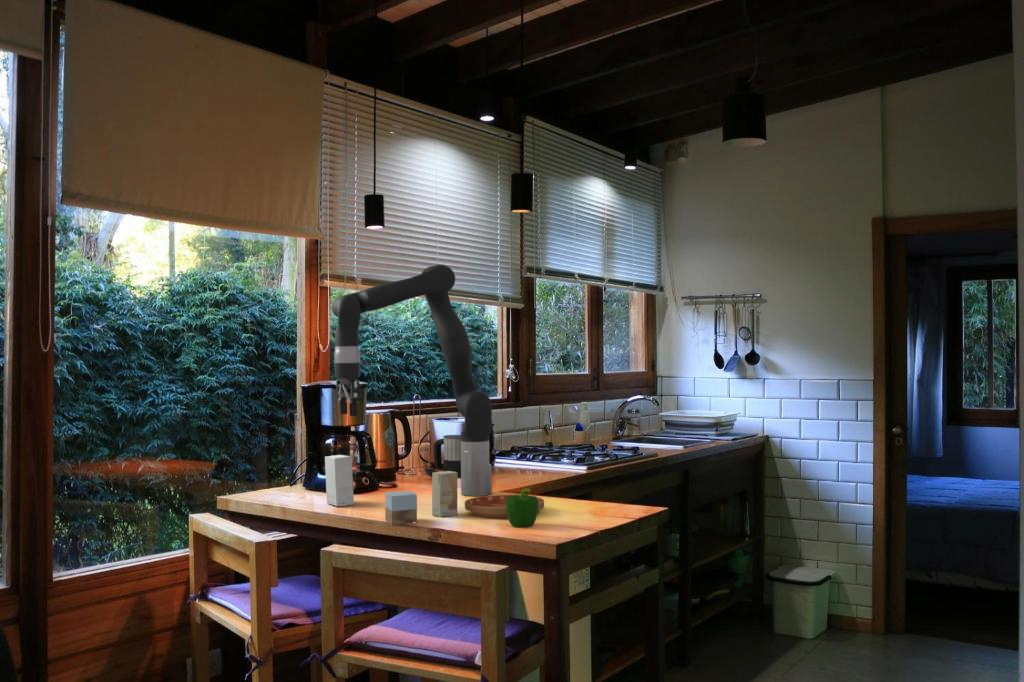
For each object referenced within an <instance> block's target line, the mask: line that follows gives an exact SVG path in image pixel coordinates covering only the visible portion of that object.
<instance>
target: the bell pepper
mask: <svg viewBox="0 0 1024 682" xmlns="http://www.w3.org/2000/svg"><path fill="white" fill-rule="evenodd" d="M531 491H532V489H529V488H524V489H522V490H521V492H520V494H512V495H513V496H511V497H508V498H507V500H506V510H507V515H508V518H507V519H508V523H509V524H510V526H512V527H517V528H522V527H524V526H527V527H533V526H534V524H535V523H536V520H537V515H538V512H539V511H538V499H537V497H538V496H534V495H530V493H531ZM527 493H529V494H527ZM519 495H520V496H519ZM537 511H538V512H537ZM521 526H522V527H521Z"/></svg>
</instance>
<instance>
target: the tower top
mask: <svg viewBox="0 0 1024 682" xmlns="http://www.w3.org/2000/svg"><path fill="white" fill-rule="evenodd" d="M384 496H385V507H387V508H388V509H389V510H391V511H400V510H412V509H417V510H418V494H417V493H415V492H414V491H411V490H401V491H399V490H398V491H397V490H396V491H386V492H385V495H384Z"/></svg>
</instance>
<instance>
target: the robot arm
mask: <svg viewBox="0 0 1024 682" xmlns="http://www.w3.org/2000/svg"><path fill="white" fill-rule="evenodd" d="M455 282H456V274H455V272H454V271H453V269H452V268H451V267H449V266H447V265H445V264H436V265H432V266H428V267H425V268H424V269H423V270H422V272H421V273H420V274H418V275H415V276H412V277H409V278H405V279H401V280H396V281H390V282H386V283H383V284H378V285H376V286H372V287H369V288H366V289H363V290H360V291H358V292H351V293H348V294H344V295H340V296H337V297H336V298H335V299H334V300H333V302H332V303H331V312H332V314H333V315H334V316H335V317H336V318H338V319H337V324H338V325H337V327H336V329H335V331H334V376H335V378H339V379H336V382H335V384H336V386H335V388H336V389H335V390H336V391H335V392H336V393H335V394H336V395H335V396H336V401H337V400H338V402H339V414H340V415H347V414H348V412H349V414H348V415H349V416H350V417H357V416H358V403H359V402H360V401H361V390H360V389H361V387H360V385H361V383H360V381H359V380H356V378H359V377H360V376H361V353H360V347H359V343H360V342H359V329H360V324H361V323H360V322H361V314H363V313H367V312H373V311H377V310H381V309H384V308H387V307H390V306H393V305H396V304H399V303H401V302H405V301H407V300H411V299H413V298H417V297H422V296H424V297H425V300H426V302H427V304H428V307H429V310H430V312H431V315H432V320H433V323H434V326H435V330H436V333H437V337H438V341H439V345H440V348H441V352H442V355H443V357H444V359H445V364H446V366H447V369H448V370H447V371H448V373H449V375H450V379H451V382H452V387H453V392H454V397H455V403H456V408H457V410H458V412H459V413H460V415H461V416H462V417H464V427H463V429H462V431H461V432H460V435H461V478H460V494H461V495H462V496H469V497H481V496H489V495H492V494H493V486H492V485H493V477H492V476H493V473H492V472H493V467H492V464H491V463H490V434H491V432H492V421H493V420H492V418H493V417H492V416H493V409H492V401H491V398H490V396H489V395H488V394H487V393H485V392H484V391H479V390H478V388H477V384H476V382H475V378H474V375H473V366H472V365H473V363H472V361H473V356H472V355H473V353H472V346H471V343H470V340H469V336H468V331H467V330H466V328H465V325H464V324H463V322H462V320H461V319H460V318H459V316H458V314H457V313H456V311H455V309H454V308H453V305H452V303H451V302H452V301H451V300H450V295H449V291H451V289H453V287H454V286H455V284H456V283H455ZM348 403H349V404H348ZM348 408H349V411H348Z"/></svg>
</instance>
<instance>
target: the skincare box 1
mask: <svg viewBox="0 0 1024 682" xmlns="http://www.w3.org/2000/svg"><path fill="white" fill-rule="evenodd" d="M324 466H325V467H324V468H325V490H326V491H325V493H326V504H327V503H329V504H328V505H330V504H332V505H331V506H333V505H335V506H334V507H337V506H339V507H346V506H347V507H348V505H350V506H354V505H355V501H354V497H355V496H354V480H353V479H354V478H353V460H352V456H351V455H345V454H335V455H328V456H324Z"/></svg>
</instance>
